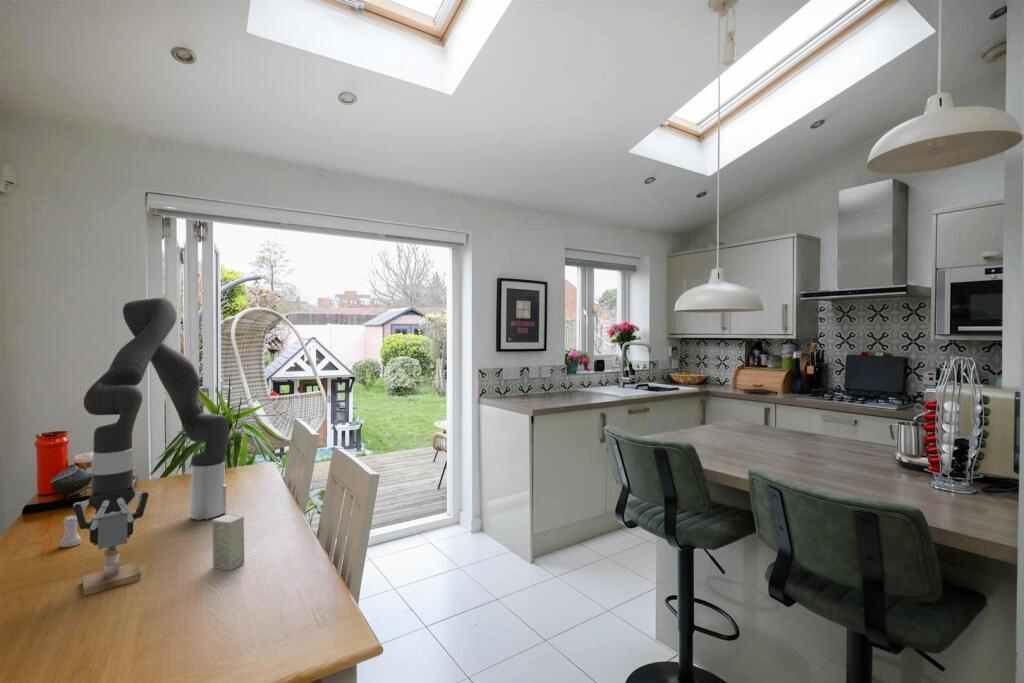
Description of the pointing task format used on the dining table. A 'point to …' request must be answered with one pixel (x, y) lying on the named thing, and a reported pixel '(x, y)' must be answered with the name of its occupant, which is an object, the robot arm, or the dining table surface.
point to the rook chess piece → (70, 532)
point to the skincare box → (228, 541)
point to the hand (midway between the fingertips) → (111, 540)
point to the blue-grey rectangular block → (112, 530)
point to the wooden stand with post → (111, 574)
